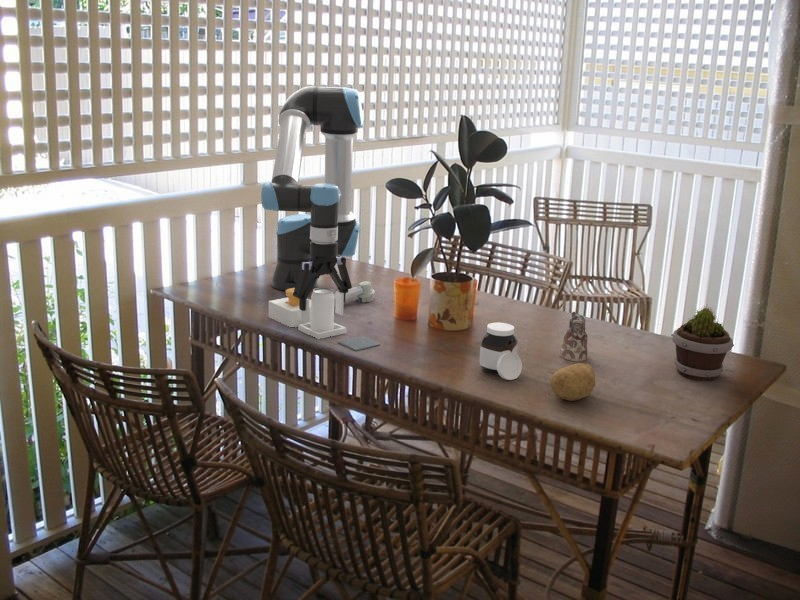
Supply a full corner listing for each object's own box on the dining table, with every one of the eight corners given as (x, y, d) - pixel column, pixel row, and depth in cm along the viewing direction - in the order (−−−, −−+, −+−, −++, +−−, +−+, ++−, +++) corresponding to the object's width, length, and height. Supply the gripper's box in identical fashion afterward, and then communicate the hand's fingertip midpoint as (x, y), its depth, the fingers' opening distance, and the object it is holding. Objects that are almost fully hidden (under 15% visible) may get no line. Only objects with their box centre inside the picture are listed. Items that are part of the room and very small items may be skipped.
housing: (299, 311, 264) (299, 295, 263) (348, 332, 247) (348, 315, 246) (268, 317, 257) (268, 300, 256) (316, 339, 240) (316, 322, 239)
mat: (361, 337, 244) (361, 335, 244) (379, 345, 238) (379, 344, 238) (337, 342, 239) (337, 341, 239) (356, 351, 233) (356, 349, 233)
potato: (603, 394, 212) (607, 363, 210) (578, 412, 201) (581, 379, 199) (566, 384, 217) (570, 353, 215) (540, 400, 206) (543, 369, 204)
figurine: (564, 361, 233) (569, 318, 229) (556, 352, 239) (560, 310, 236) (590, 361, 234) (595, 318, 230) (581, 351, 241) (585, 309, 237)
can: (307, 333, 245) (307, 292, 242) (315, 326, 251) (316, 286, 248) (329, 336, 244) (329, 294, 240) (336, 329, 250) (337, 288, 246)
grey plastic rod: (304, 299, 264) (366, 275, 280) (306, 319, 266) (367, 294, 282) (315, 303, 260) (377, 279, 276) (317, 323, 263) (378, 298, 279)
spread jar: (493, 361, 231) (497, 318, 227) (532, 371, 225) (536, 328, 221) (470, 373, 221) (473, 329, 218) (510, 385, 215) (513, 340, 212)
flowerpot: (674, 359, 238) (684, 288, 232) (733, 372, 230) (745, 299, 225) (660, 375, 226) (670, 301, 220) (721, 389, 218) (734, 312, 213)
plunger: (298, 311, 260) (298, 286, 258) (310, 317, 256) (310, 291, 254) (281, 315, 257) (281, 289, 254) (293, 320, 252) (293, 294, 250)
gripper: (295, 249, 230) (295, 328, 236) (366, 238, 245) (363, 313, 251) (279, 243, 235) (279, 321, 241) (349, 233, 250) (347, 307, 256)
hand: (322, 317), depth 246 cm, fingers open, 11 cm apart
